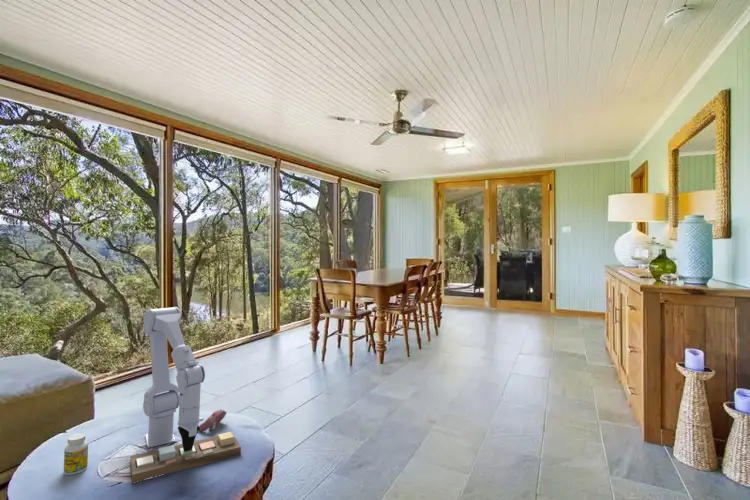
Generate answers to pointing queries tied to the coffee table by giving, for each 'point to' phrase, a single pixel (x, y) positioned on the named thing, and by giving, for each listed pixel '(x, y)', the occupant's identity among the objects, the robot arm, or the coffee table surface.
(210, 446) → the terracotta key
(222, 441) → the ochre key
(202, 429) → the video game controller
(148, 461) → the offwhite key
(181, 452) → the sage key
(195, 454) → the keypad
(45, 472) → the coffee table surface
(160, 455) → the bluegrey key
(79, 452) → the supplement bottle
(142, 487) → the coffee table surface
